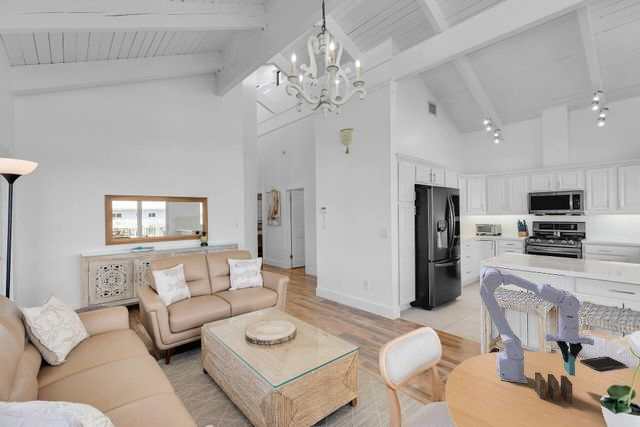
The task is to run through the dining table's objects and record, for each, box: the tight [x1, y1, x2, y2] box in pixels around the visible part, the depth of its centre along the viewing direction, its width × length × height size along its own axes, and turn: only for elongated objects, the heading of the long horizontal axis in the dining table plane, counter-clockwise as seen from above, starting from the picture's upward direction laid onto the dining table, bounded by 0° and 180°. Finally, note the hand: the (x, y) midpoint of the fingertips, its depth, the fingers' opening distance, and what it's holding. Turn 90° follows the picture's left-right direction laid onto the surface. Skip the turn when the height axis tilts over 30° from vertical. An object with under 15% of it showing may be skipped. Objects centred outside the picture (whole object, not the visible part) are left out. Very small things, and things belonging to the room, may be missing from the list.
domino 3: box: [560, 375, 574, 405], centre depth 108 cm, size 2×5×7 cm, turn 161°
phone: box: [579, 355, 627, 372], centre depth 128 cm, size 8×1×15 cm
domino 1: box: [534, 371, 546, 400], centre depth 110 cm, size 2×5×7 cm, turn 161°
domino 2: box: [547, 373, 560, 402], centre depth 109 cm, size 2×5×7 cm, turn 161°
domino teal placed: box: [563, 350, 576, 377], centre depth 113 cm, size 2×5×7 cm, turn 161°
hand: (568, 361), depth 113 cm, fingers closed on domino teal placed, 1 cm apart
